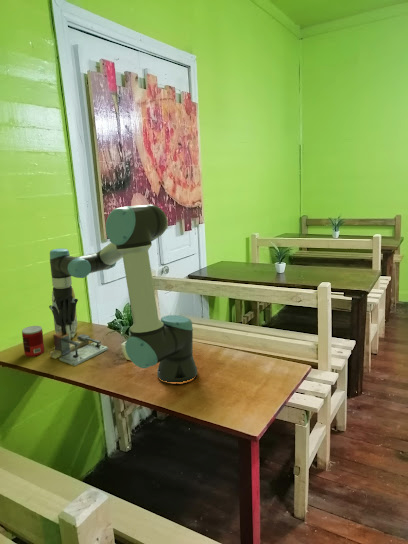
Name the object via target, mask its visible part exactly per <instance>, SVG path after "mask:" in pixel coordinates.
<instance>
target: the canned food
mask: <svg viewBox="0 0 408 544" xmlns="http://www.w3.org/2000/svg"><path fill="white" fill-rule="evenodd" d="M21 335H22V336H21V337H22V345H23V351H24V355H25V356H26V357H27V358H33V357H34V358H35V357H39V356H41V355H43V353H44V352H45V345H44V335H43V327H42V326H40V325H31V326H30V325H29V326H26V327H24V328H23V329H22V330H21Z"/></svg>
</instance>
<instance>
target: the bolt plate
mask: <svg viewBox="0 0 408 544" xmlns="http://www.w3.org/2000/svg"><path fill="white" fill-rule="evenodd" d="M108 350H109V347H108V346H106V345H104V344H101V343H100V344H99V346H97V343H95V342H92V343H88V344H86V345H84V346H82V347H79V348H77V351H78V355H76V352H75V350H73V351H71V352H70V353H68V354H65V355H63V356H60V357H59V361H60V362H63V363H66V364H69V365H71V366H73V367H76V366H77V365H81V364H83V363H84V362H86V361H88V360H90V359H92V358H94V357H96V356H99V354H101V353H104V352H106V351H108Z"/></svg>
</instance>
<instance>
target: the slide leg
mask: <svg viewBox="0 0 408 544" xmlns="http://www.w3.org/2000/svg"><path fill="white" fill-rule="evenodd" d="M52 336H53V343H54V344H53V345H54V350H60V351H61V354H62V356H64V355H67V354H69V353H71V352H70V344H73V345H75V350H74V351H75V352H76V355H78V351H77V350H78V348H77V346H78V345H80V344H79V343H78V342H75V341H74V340H71V339H70V340H69V334H68V333H62V331H61V332H59V333H56V332H55V333H53V335H52ZM62 356H61V357H62Z"/></svg>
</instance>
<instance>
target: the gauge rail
mask: <svg viewBox="0 0 408 544" xmlns="http://www.w3.org/2000/svg"><path fill="white" fill-rule="evenodd" d="M76 337H77V340H76V341H75V342H78V343H79V344H80V345H78V346H77V349H80V348H82V347H84V346H86V345H88V344H90V342H92V343H93V342H94V343H97V346H99V344H100V345H101V344H102V341H100V340H98V339H95V338H94V339H93V338H91V336H90V335H87V334H85V333H81V334H79V335H77V336H76ZM69 344H70V343H69ZM73 351H75V345H73V344H70V353H71V352H73ZM49 354H50V355H49V356H50V358H52V359H57V358H60V357H62V354H61V351H60V350H55V349H54V350H52V351H50V352H49Z"/></svg>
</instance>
